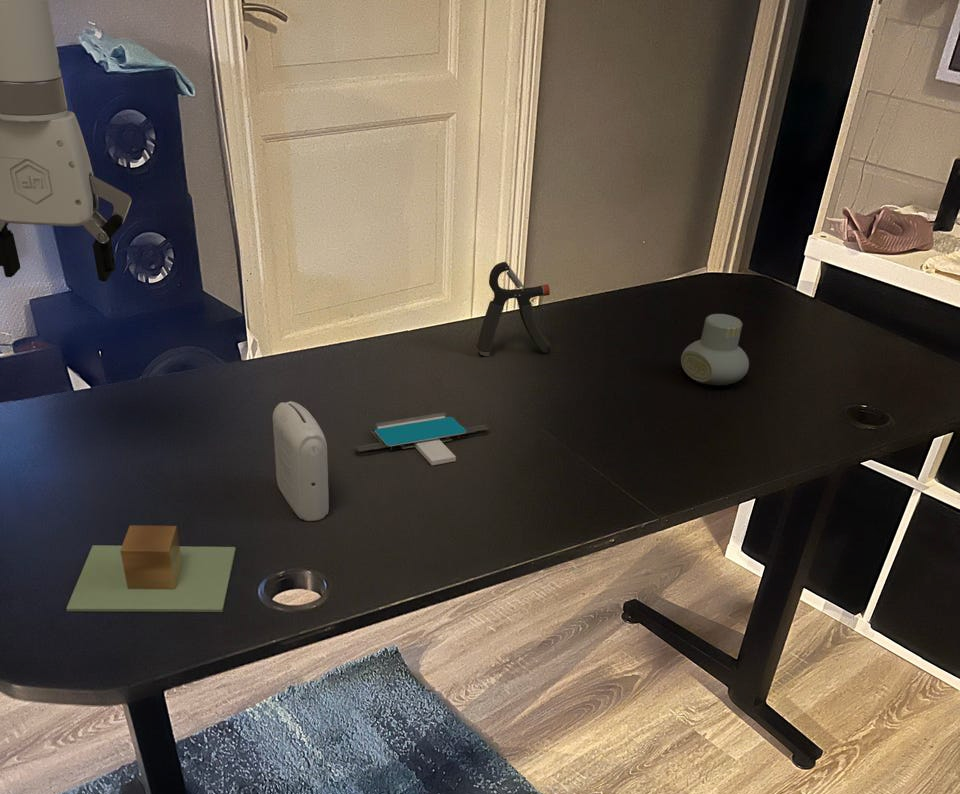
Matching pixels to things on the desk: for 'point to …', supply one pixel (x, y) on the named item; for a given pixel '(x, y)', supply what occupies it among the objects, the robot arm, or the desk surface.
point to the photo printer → (301, 461)
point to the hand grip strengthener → (523, 303)
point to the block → (151, 557)
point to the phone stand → (420, 436)
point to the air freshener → (717, 352)
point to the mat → (193, 593)
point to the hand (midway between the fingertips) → (59, 275)
